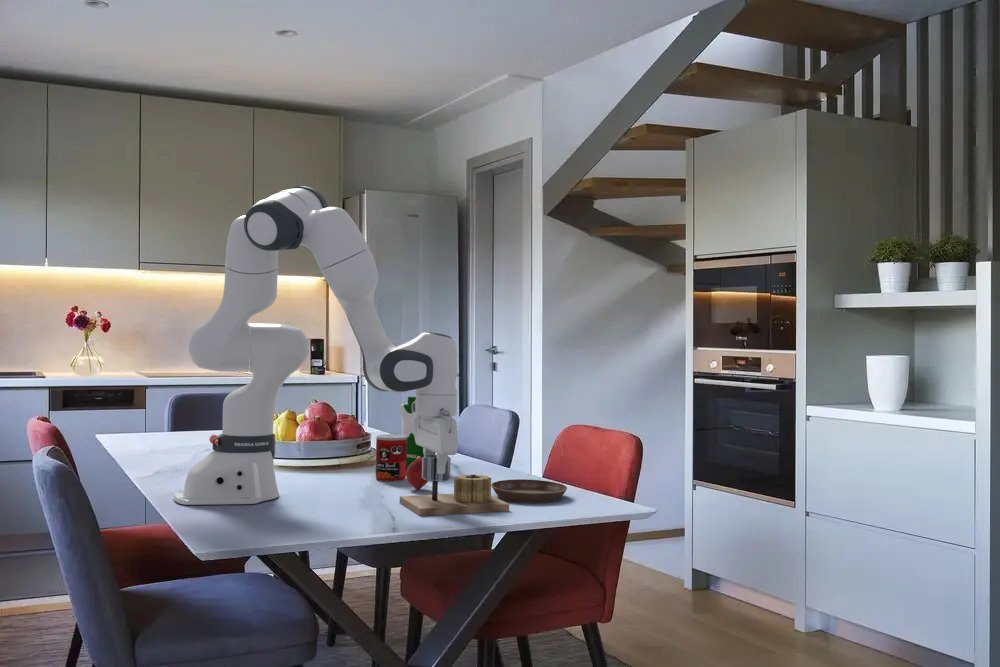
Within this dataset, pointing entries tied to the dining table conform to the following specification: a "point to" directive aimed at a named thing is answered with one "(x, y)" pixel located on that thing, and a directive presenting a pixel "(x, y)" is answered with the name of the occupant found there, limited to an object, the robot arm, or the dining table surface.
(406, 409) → the milk carton
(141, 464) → the dining table surface
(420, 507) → the gear board
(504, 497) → the plant saucer
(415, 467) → the onion
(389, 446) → the canned food
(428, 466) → the steel gear
